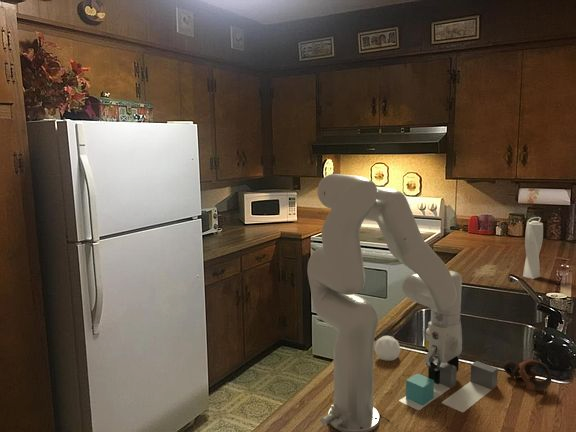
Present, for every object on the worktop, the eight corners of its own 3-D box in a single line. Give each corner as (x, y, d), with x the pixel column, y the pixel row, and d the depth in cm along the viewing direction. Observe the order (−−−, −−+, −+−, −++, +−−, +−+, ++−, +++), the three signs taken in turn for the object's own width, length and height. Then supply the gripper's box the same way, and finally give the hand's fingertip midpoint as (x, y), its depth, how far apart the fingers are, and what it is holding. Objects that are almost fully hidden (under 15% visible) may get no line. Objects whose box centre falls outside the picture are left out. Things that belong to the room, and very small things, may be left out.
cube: (422, 405, 121) (423, 387, 120) (405, 397, 125) (406, 380, 124) (433, 398, 124) (434, 380, 124) (416, 390, 128) (417, 373, 127)
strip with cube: (418, 414, 119) (419, 391, 118) (398, 404, 124) (398, 382, 123) (456, 387, 131) (456, 366, 130) (436, 379, 136) (437, 359, 134)
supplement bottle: (429, 356, 150) (429, 327, 148) (422, 348, 155) (423, 320, 153) (445, 354, 150) (446, 326, 149) (438, 347, 156) (439, 319, 154)
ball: (383, 365, 151) (383, 339, 154) (405, 363, 145) (405, 337, 149) (369, 360, 146) (369, 334, 150) (391, 358, 141) (391, 331, 144)
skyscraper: (528, 273, 230) (531, 215, 226) (543, 276, 224) (548, 217, 220) (519, 276, 226) (522, 217, 221) (535, 280, 220) (539, 220, 215)
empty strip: (462, 416, 118) (463, 393, 117) (440, 406, 122) (441, 384, 121) (496, 389, 130) (497, 368, 129) (475, 380, 134) (476, 360, 133)
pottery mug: (545, 380, 135) (556, 363, 130) (542, 408, 129) (552, 392, 123) (501, 362, 139) (509, 346, 134) (495, 389, 133) (503, 373, 128)
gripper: (440, 330, 120) (438, 393, 123) (474, 311, 132) (472, 369, 135) (414, 321, 126) (413, 382, 129) (449, 304, 137) (447, 360, 140)
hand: (443, 375), depth 132 cm, fingers open, 9 cm apart
